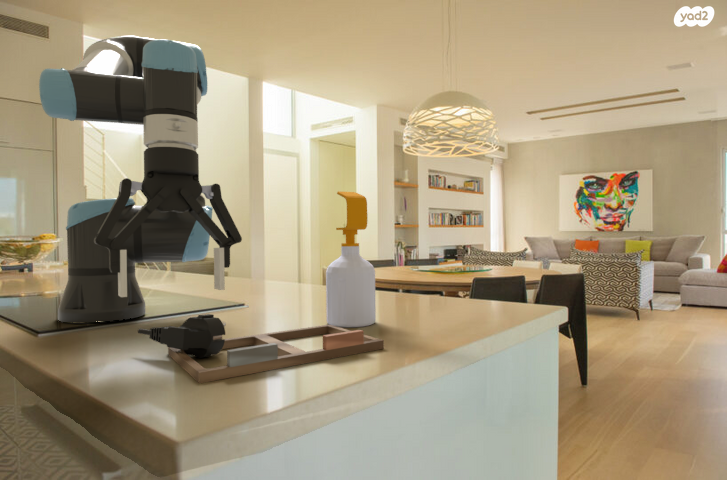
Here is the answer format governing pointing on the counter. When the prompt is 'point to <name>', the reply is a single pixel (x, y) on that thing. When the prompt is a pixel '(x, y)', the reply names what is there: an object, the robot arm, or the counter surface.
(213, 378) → the strip
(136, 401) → the counter surface
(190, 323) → the power plug
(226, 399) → the counter surface
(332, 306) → the soap bottle
